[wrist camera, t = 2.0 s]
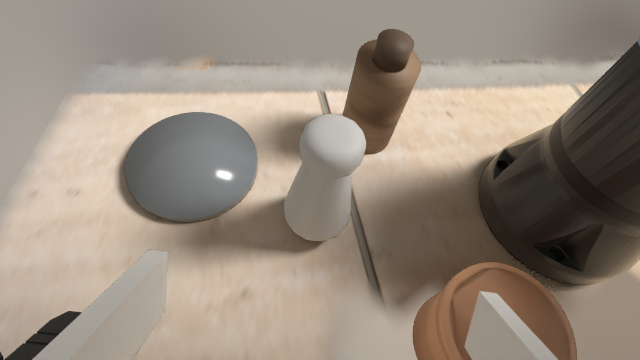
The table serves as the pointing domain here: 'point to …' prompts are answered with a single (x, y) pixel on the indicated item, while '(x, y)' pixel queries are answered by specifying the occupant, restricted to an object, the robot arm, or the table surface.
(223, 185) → the slate coaster
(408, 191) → the table surface
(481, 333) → the robot arm
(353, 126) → the salt shaker
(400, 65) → the walnut pepper mill
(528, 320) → the terracotta pot
